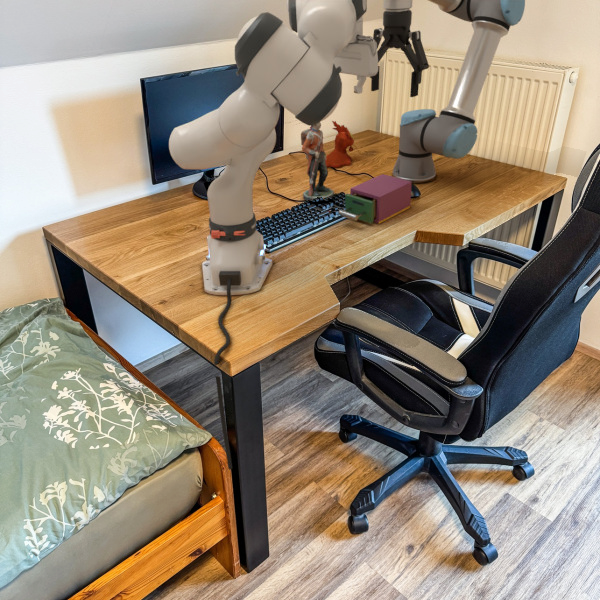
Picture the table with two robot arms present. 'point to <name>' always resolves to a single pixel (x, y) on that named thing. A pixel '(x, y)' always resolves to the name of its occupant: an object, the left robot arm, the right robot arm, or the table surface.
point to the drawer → (359, 208)
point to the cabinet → (386, 195)
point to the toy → (340, 148)
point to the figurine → (315, 162)
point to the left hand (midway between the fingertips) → (345, 90)
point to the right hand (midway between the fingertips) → (394, 93)
